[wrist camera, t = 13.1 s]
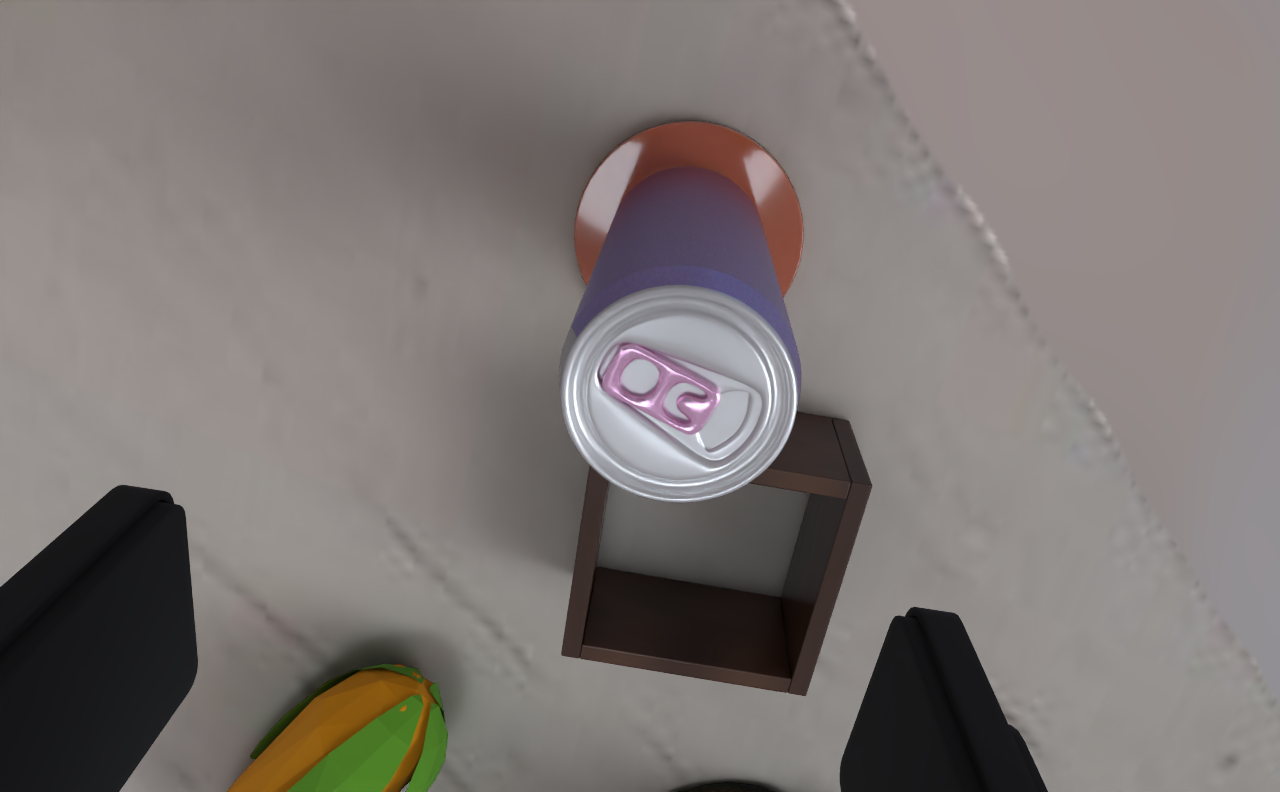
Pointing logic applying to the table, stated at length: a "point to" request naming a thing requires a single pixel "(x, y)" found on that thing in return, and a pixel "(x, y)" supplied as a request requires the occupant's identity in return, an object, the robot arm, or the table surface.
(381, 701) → the corn
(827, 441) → the caddy
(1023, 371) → the table surface
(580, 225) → the coaster
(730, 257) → the beverage can
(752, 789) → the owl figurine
